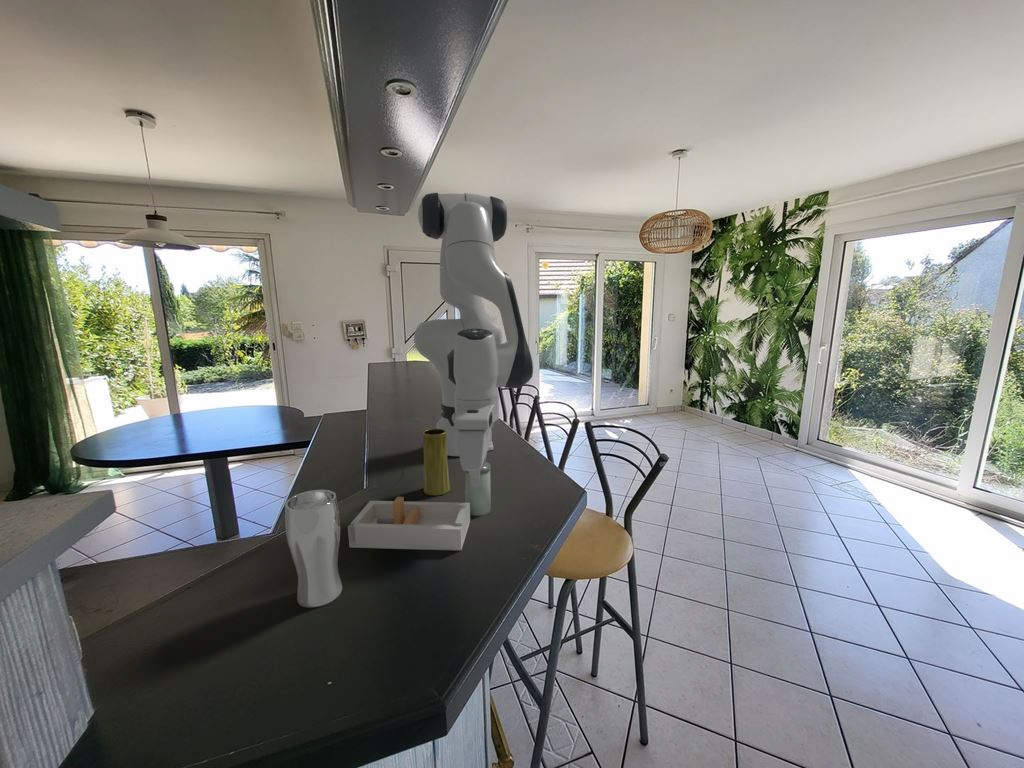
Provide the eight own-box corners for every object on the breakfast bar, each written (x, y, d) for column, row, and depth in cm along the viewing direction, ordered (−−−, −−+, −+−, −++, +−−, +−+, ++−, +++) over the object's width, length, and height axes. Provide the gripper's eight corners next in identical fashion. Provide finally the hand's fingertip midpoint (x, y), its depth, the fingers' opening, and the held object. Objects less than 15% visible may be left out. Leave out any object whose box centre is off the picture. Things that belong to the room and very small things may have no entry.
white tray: (371, 519, 82) (370, 498, 82) (470, 521, 81) (469, 500, 81) (349, 547, 73) (347, 524, 72) (461, 550, 71) (460, 526, 71)
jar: (467, 503, 89) (466, 460, 87) (492, 504, 89) (491, 461, 87) (463, 515, 84) (462, 470, 82) (489, 516, 83) (489, 470, 82)
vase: (444, 497, 92) (442, 436, 90) (419, 494, 93) (416, 434, 91) (453, 485, 98) (451, 428, 95) (429, 483, 99) (427, 427, 97)
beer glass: (309, 578, 64) (300, 488, 62) (353, 578, 64) (345, 489, 61) (283, 610, 57) (272, 510, 55) (332, 611, 57) (323, 511, 55)
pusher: (385, 517, 80) (383, 491, 80) (419, 518, 80) (418, 491, 79) (371, 536, 74) (369, 508, 73) (408, 537, 73) (407, 509, 72)
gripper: (469, 400, 93) (471, 459, 95) (451, 423, 72) (454, 496, 75) (497, 400, 92) (498, 459, 94) (487, 423, 72) (489, 497, 74)
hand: (478, 476), depth 84 cm, fingers open, 8 cm apart
